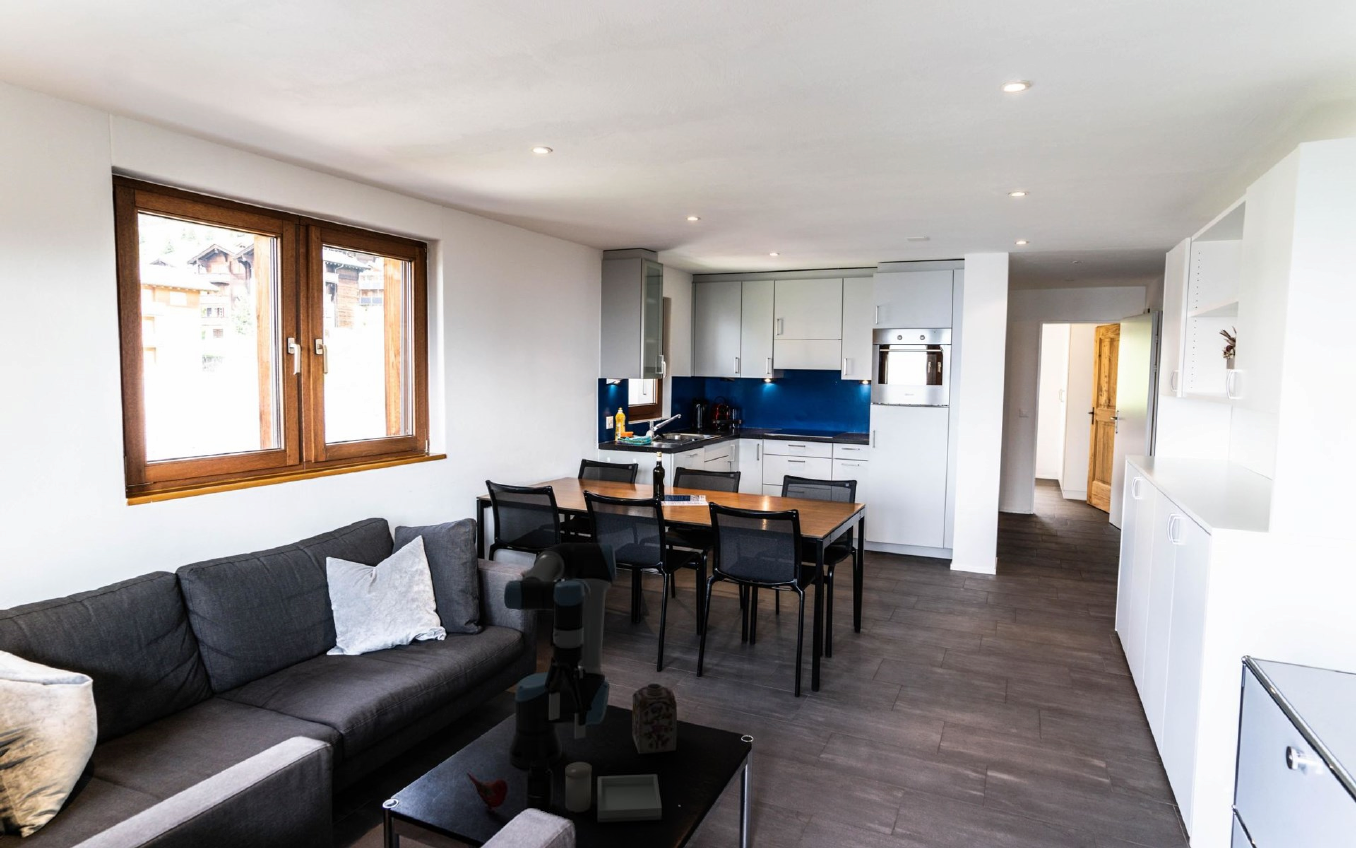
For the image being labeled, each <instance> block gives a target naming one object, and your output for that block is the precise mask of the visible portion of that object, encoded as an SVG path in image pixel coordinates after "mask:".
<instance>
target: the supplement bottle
mask: <svg viewBox="0 0 1356 848" xmlns="http://www.w3.org/2000/svg"><path fill="white" fill-rule="evenodd" d="M528 770H529V771H527V773H526V775H525V776H526V777H525V809H526V808H538V809H540V810H541V811H546V812H548V811H549V810H550V809H551V808H552V806H553V790H554V789H553V787H554V786H553V782H554V773H553V772H552V770H551V768H550V766H549V760H548V759H547V758H544V757H538V758H534V759H533V760H532V761H531V763H530V769H528Z"/></svg>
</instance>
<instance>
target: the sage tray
mask: <svg viewBox="0 0 1356 848" xmlns="http://www.w3.org/2000/svg"><path fill="white" fill-rule="evenodd" d="M658 781H659V780H658V774H656V773H654V774H652V773H651V774H632V775H631V774H630V775H629V774H628V775H626V774H625V775H607V776H606V775H603V776H597V823H611V822H614V823H615V822H632V821H633V822H637V821H657V820H658V821H660V820H662V816H663V815H662V812H663V811H662V808H663V807H662V800H661V796H660V789H659V788H660V787H659V782H658Z"/></svg>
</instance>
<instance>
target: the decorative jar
mask: <svg viewBox="0 0 1356 848" xmlns="http://www.w3.org/2000/svg"><path fill="white" fill-rule="evenodd" d="M675 696H676V695H675V693H674V692H673V689H670V688H668V687H665V686H662V685H661V684H659V683H650V684H648V685H646V686H644V687H641V688H639V689H637V690H635V691H634V692H633V695H632V712H631V713H632V714H631V715H632V716H631V717H632V718H631V720H632V721H631V723H632V725H631V726H632V727H631V733H632V739H633V741H634V744H635V747H636V750H637V752H638V754H639V755H645V754H646V755H647V754H655V753H665V752H666V753H667V752H674V751H676V749H677V734H678V733H677V729H678V727H677V726H678V725H677V723H678V722H677V721H678V719H677V718H678V705H677V700H676V697H675Z"/></svg>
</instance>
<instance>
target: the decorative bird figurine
mask: <svg viewBox="0 0 1356 848" xmlns="http://www.w3.org/2000/svg"><path fill="white" fill-rule="evenodd" d="M466 774H467V777H468V778H469V779H470V780H471V782H472V783H473V784H474V786H475V789H476V791H477V794H478V795H479V797H480V798H481V799H482V801H483V803H484V804H486V807H485V808H486V809H489V810H488V811H490V813H492V812H493V813H496V814H495V815H497V816H499V814H498V813H497V812H496V811H495V809H493V808H498V807H500V806H501V805H502V804H503V803H504V802H505V799H506V796H507V793H509V791H508V790H509V789H508V784H507V782H506V781H505V780H504V779H498V780H496V781H494V782H493V781H492V782H490V781H485V780H484V781H478V780H477V779H476V778H475V777H473V775H471V774H470V773H466ZM493 813H492V814H493Z"/></svg>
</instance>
